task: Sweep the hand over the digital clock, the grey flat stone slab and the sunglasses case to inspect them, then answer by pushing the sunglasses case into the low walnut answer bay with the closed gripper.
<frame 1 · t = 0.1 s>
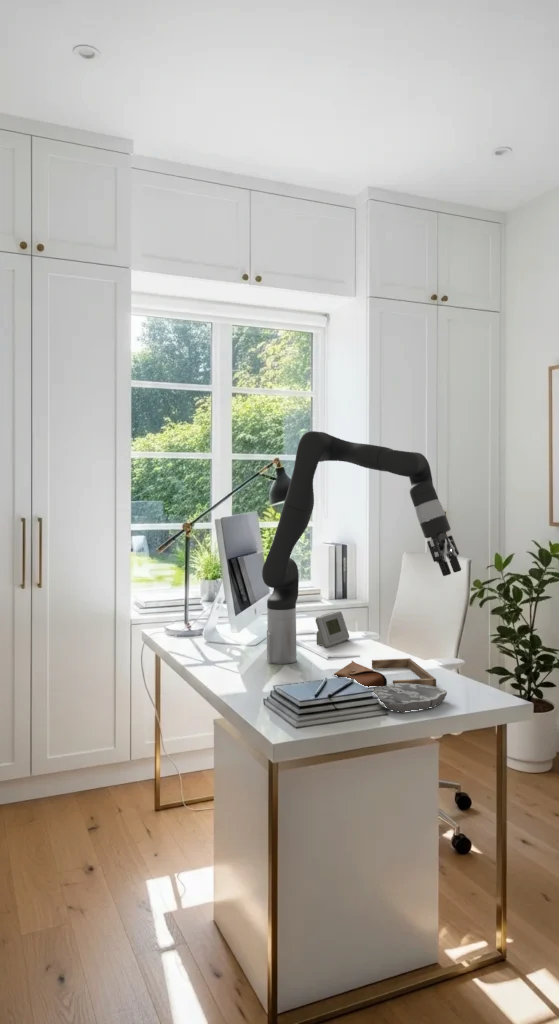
hand: (452, 573, 197), 31 cm above the table, tool tilted 20°, fingers open, 8 cm apart
sunglasses case: (358, 682, 205), on the table
answer bay: (402, 677, 207), on the table
digital clock: (332, 644, 253), on the table
grey flat stone slab: (405, 704, 183), on the table
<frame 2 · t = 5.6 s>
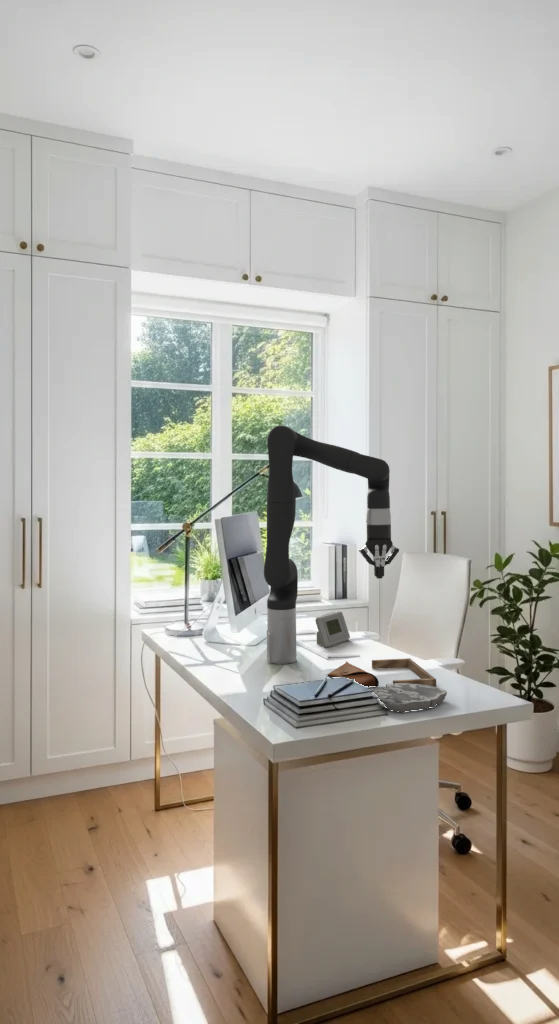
hand: (379, 578, 222), 27 cm above the table, tool pointing down, fingers closed
sunglasses case: (350, 683, 205), on the table
everything else where it was.
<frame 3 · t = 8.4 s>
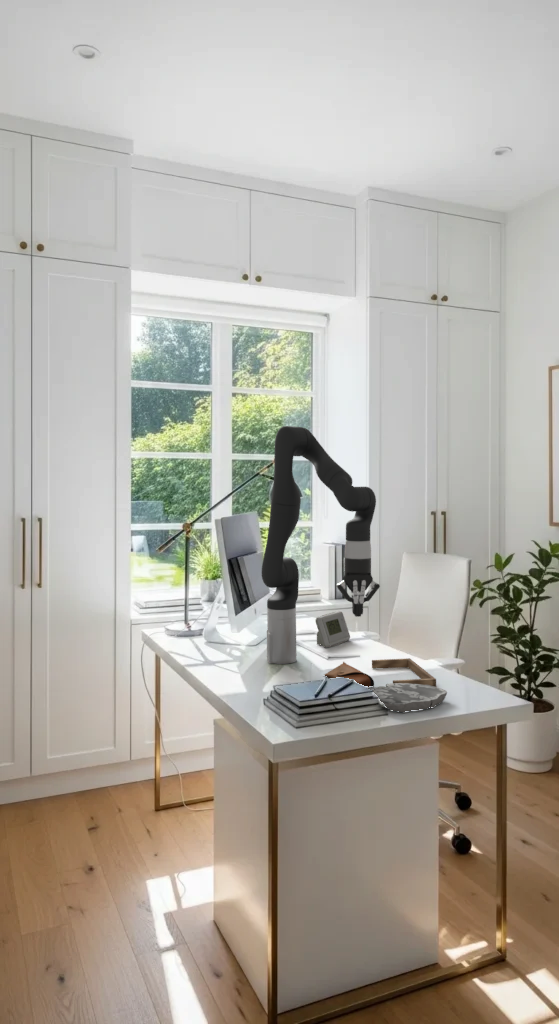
hand: (357, 616, 204), 19 cm above the table, tool pointing down, fingers closed
sunglasses case: (347, 683, 204), on the table
everything else where it was.
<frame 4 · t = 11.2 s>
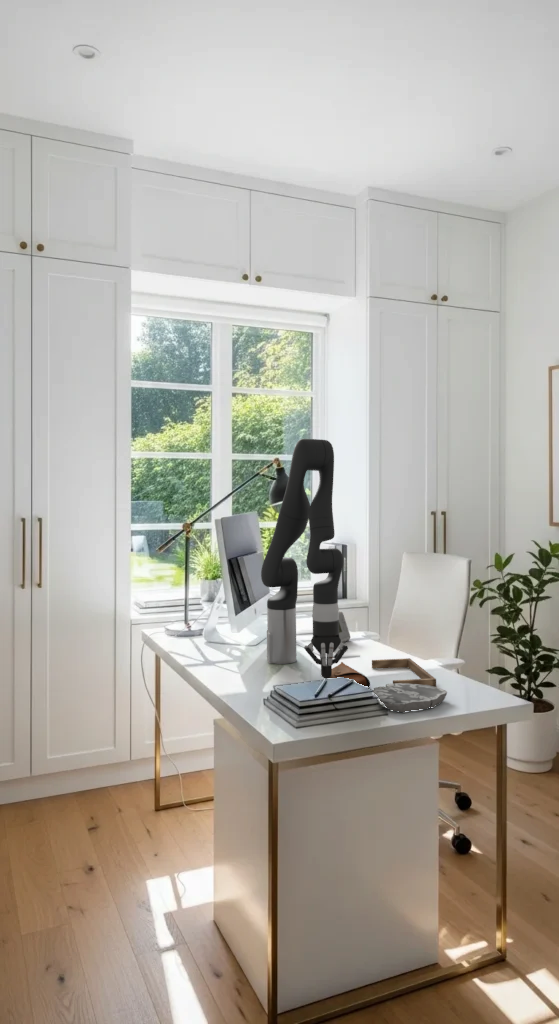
hand: (326, 677, 204), 1 cm above the table, tool pointing down, fingers closed
sunglasses case: (344, 683, 204), on the table, touching gripper
everything else where it was.
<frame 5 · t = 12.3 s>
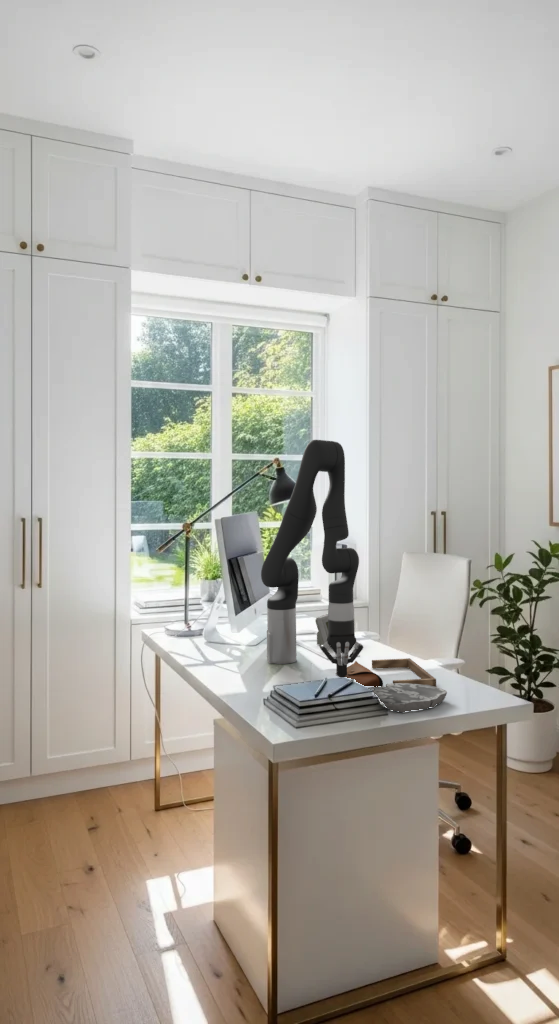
hand: (341, 677, 204), 1 cm above the table, tool pointing down, fingers closed
sunglasses case: (357, 682, 205), on the table, touching gripper
everything else where it was.
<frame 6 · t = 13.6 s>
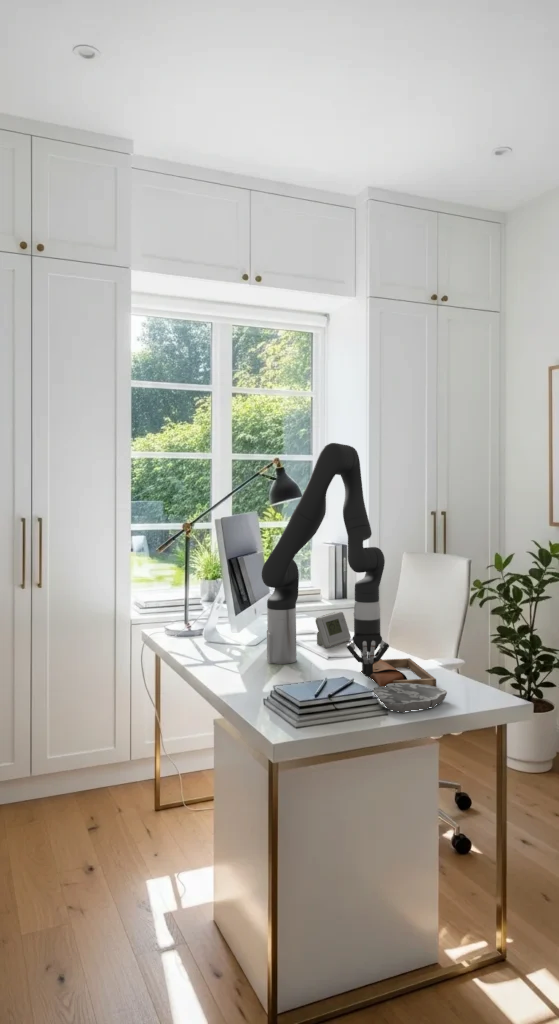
hand: (367, 675, 205), 1 cm above the table, tool pointing down, fingers closed
sunglasses case: (382, 680, 207), on the table, touching gripper
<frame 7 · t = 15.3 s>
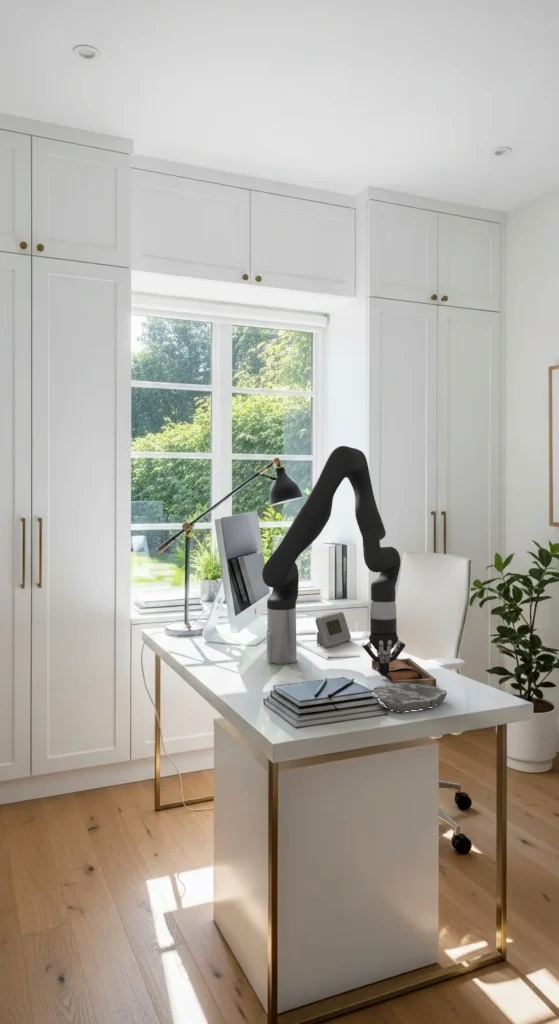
hand: (383, 675, 206), 1 cm above the table, tool pointing down, fingers closed
sunglasses case: (398, 679, 208), on the table
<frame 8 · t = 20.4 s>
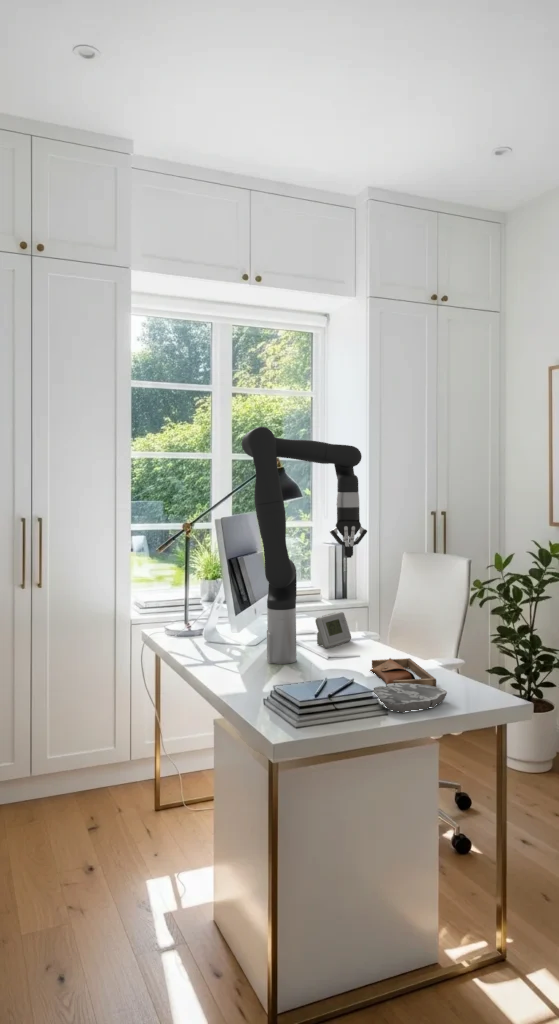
hand: (348, 557, 238), 32 cm above the table, tool pointing down, fingers closed
sunglasses case: (391, 679, 208), on the table
at the end: sunglasses case inside the target area (4.1 cm from its centre), on the table; sunglasses case moved 10.0 cm from its start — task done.
